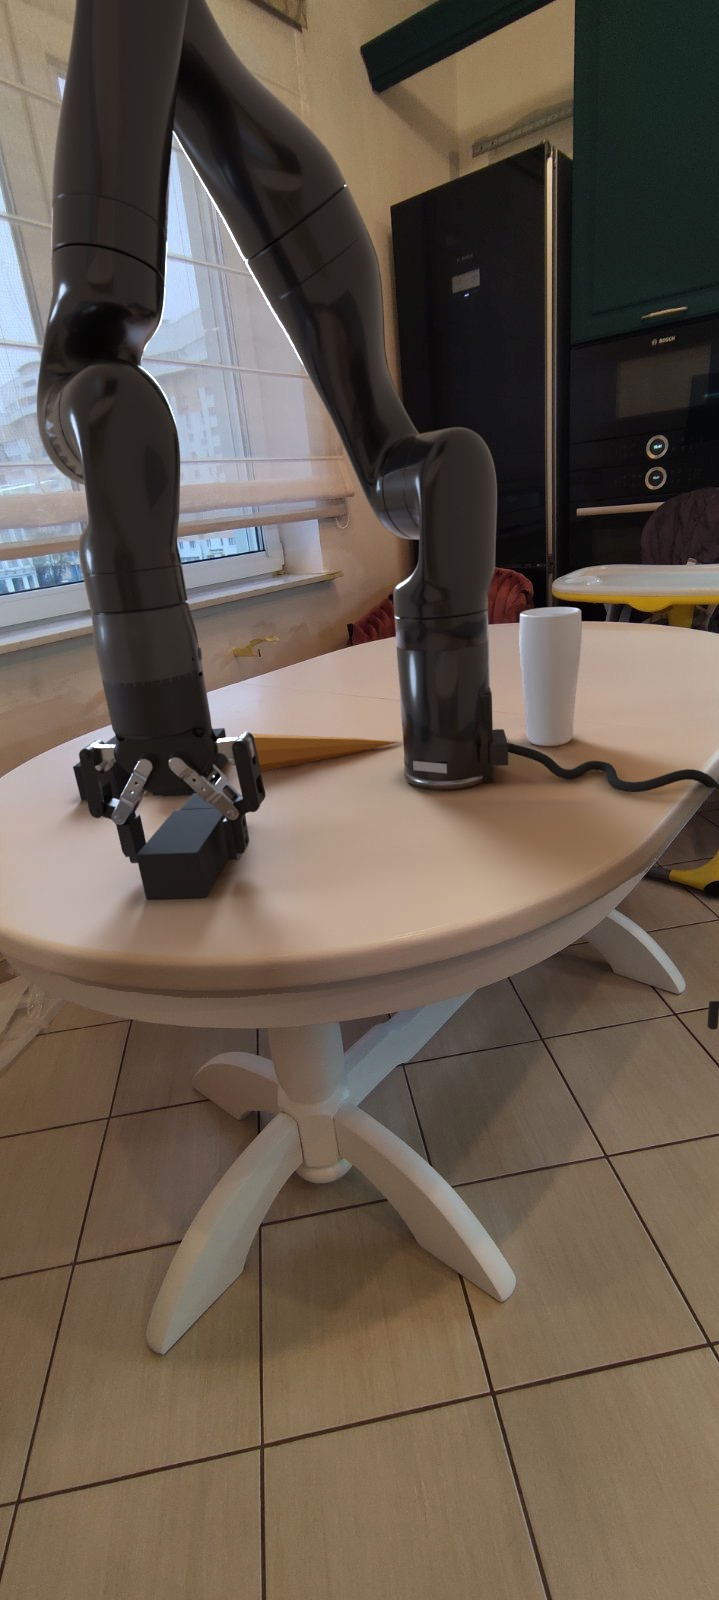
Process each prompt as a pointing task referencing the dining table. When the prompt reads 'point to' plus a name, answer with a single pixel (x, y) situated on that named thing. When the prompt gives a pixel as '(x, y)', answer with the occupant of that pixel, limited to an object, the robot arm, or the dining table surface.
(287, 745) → the carrot
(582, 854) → the dining table surface
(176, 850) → the black rectangular block
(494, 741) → the robot arm
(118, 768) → the dark grey u-shaped block
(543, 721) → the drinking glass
